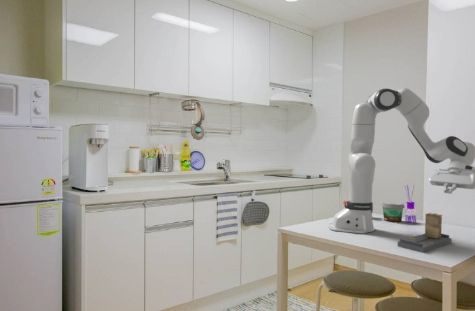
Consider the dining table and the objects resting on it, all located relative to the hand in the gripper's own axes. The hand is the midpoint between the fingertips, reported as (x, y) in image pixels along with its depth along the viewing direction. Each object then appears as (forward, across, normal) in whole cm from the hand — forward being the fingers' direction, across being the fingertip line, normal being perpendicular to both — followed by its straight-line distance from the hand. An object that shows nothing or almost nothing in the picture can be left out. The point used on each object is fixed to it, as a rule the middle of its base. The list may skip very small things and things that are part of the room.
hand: (447, 192), depth 173 cm
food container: (+7, -33, +23) cm, 41 cm away
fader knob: (+22, 0, +4) cm, 23 cm away
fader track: (+29, 0, +1) cm, 29 cm away
